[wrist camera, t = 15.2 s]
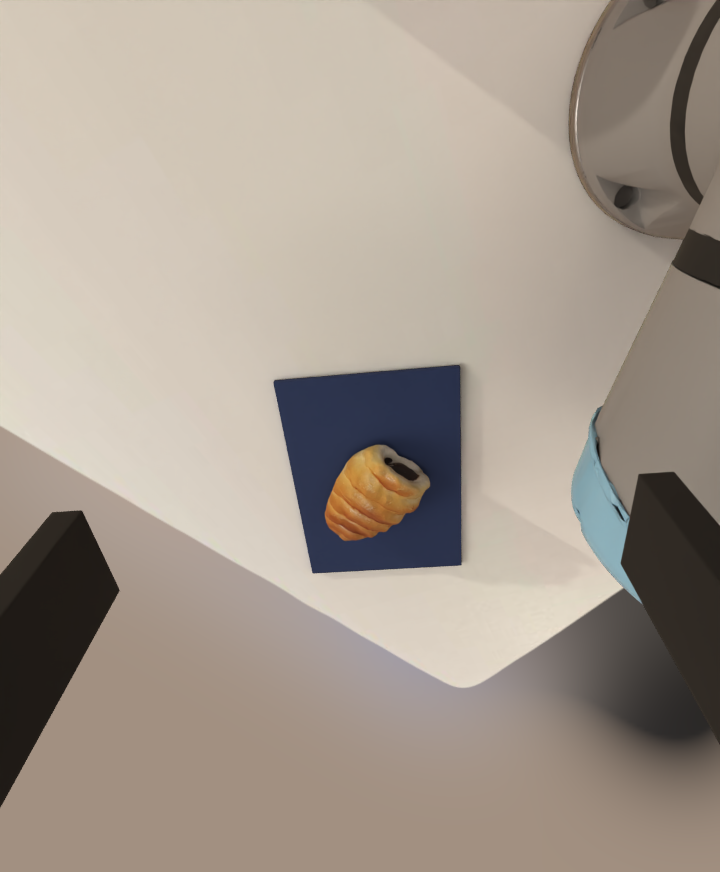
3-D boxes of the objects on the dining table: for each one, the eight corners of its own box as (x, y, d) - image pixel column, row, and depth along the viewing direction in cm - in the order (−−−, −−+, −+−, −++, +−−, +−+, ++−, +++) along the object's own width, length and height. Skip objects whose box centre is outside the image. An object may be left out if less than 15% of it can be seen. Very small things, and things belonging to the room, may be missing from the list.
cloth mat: (459, 364, 39) (460, 366, 39) (460, 562, 49) (461, 565, 49) (274, 380, 40) (273, 382, 40) (312, 570, 50) (312, 573, 50)
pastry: (369, 540, 48) (368, 571, 44) (306, 504, 46) (300, 534, 42) (435, 471, 44) (439, 499, 40) (368, 429, 42) (367, 455, 38)
